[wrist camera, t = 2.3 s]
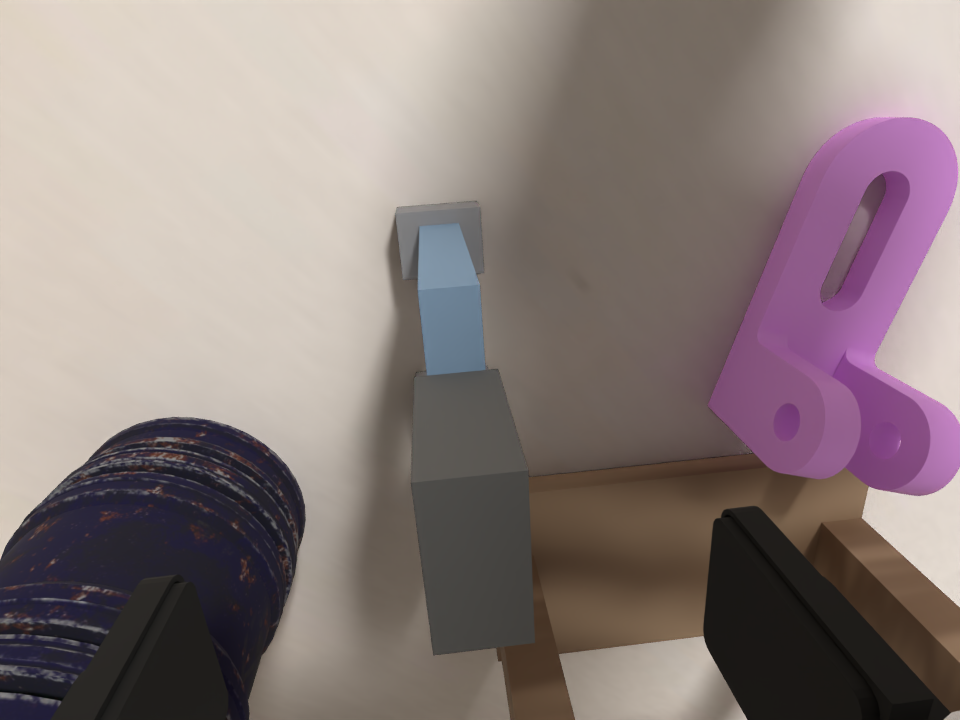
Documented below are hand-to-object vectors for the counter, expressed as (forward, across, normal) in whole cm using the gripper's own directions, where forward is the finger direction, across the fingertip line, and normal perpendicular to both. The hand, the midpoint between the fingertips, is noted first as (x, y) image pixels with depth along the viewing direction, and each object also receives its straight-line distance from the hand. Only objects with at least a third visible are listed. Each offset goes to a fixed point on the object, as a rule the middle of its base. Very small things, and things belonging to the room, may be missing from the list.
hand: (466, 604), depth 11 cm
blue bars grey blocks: (+15, 0, -1) cm, 15 cm away
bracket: (+15, -16, -1) cm, 22 cm away
